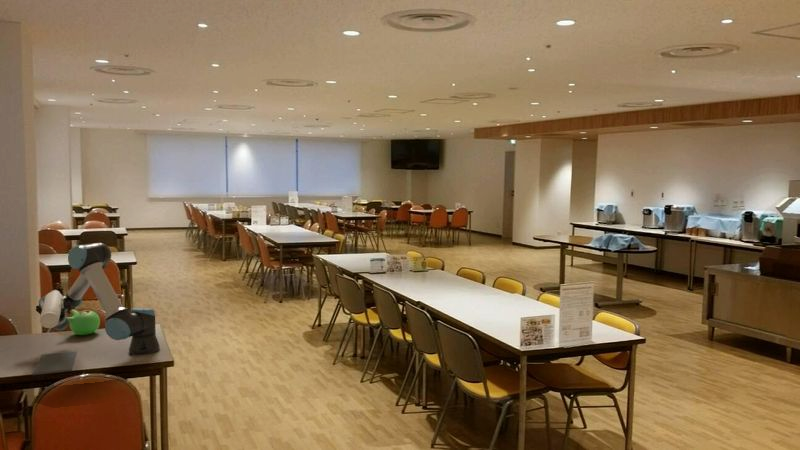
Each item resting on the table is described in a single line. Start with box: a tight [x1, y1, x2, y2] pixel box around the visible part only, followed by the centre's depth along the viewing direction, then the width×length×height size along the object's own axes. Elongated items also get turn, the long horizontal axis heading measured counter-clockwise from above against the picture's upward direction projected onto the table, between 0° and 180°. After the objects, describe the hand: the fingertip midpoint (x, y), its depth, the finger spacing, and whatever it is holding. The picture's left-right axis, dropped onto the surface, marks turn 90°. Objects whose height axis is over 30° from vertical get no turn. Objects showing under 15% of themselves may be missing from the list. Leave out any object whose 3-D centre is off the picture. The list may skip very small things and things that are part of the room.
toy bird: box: [66, 308, 101, 336], centre depth 361 cm, size 18×17×15 cm
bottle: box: [39, 289, 64, 329], centre depth 305 cm, size 8×8×28 cm
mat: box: [32, 350, 78, 376], centre depth 308 cm, size 32×16×1 cm, turn 23°
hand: (51, 302), depth 303 cm, fingers closed on bottle, 8 cm apart
